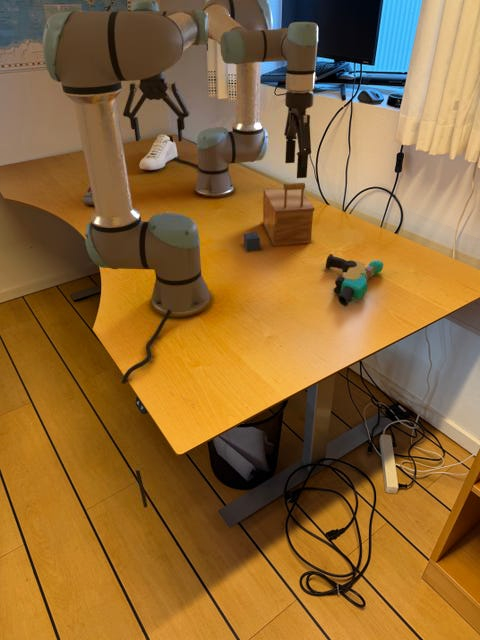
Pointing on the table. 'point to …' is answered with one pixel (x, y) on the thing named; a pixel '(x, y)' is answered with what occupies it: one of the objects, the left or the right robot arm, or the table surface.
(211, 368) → the table surface
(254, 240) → the block
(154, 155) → the sneaker
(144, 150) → the table surface
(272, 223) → the chest
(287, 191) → the lid
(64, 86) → the left robot arm
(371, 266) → the toy gun
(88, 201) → the toy gun
